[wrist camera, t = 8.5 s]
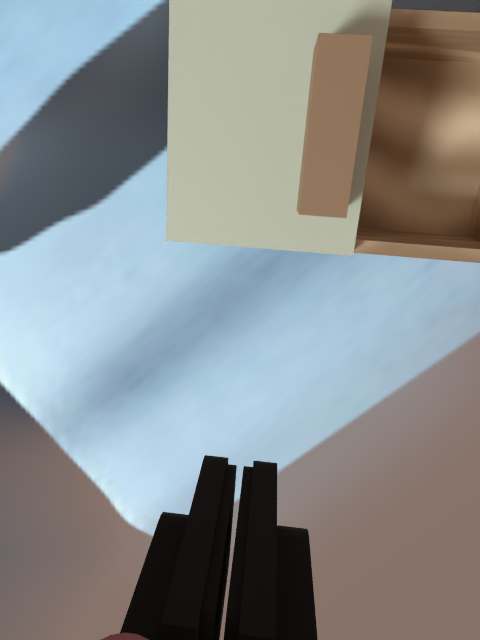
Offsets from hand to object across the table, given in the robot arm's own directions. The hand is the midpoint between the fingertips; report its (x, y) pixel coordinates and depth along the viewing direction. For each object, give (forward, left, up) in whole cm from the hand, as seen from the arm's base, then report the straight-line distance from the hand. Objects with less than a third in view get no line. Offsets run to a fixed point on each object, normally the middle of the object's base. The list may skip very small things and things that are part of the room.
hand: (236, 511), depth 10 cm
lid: (-10, -1, -26) cm, 28 cm away
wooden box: (-10, +12, -35) cm, 38 cm away
